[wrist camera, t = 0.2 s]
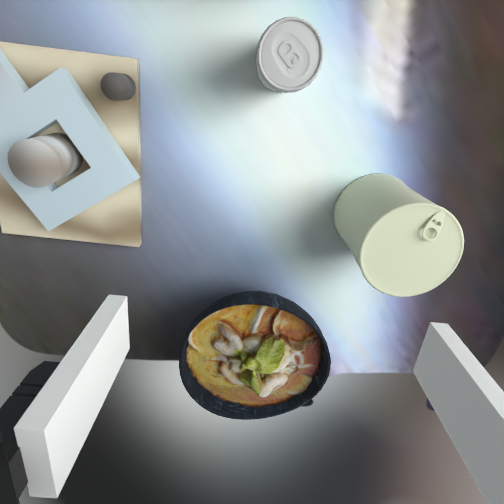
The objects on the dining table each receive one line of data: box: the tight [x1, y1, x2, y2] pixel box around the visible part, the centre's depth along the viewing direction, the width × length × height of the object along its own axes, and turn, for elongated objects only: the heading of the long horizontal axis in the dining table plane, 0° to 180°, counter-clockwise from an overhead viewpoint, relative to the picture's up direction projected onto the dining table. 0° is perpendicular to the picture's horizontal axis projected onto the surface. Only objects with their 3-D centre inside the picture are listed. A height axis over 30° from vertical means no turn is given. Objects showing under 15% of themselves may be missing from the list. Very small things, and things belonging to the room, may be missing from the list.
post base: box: [0, 42, 142, 247], centre depth 37 cm, size 20×16×7 cm
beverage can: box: [256, 17, 323, 93], centre depth 31 cm, size 5×5×12 cm
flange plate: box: [0, 49, 140, 231], centre depth 35 cm, size 17×12×7 cm
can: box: [334, 174, 464, 297], centre depth 37 cm, size 9×9×12 cm
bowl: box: [179, 291, 331, 420], centre depth 44 cm, size 17×17×10 cm
